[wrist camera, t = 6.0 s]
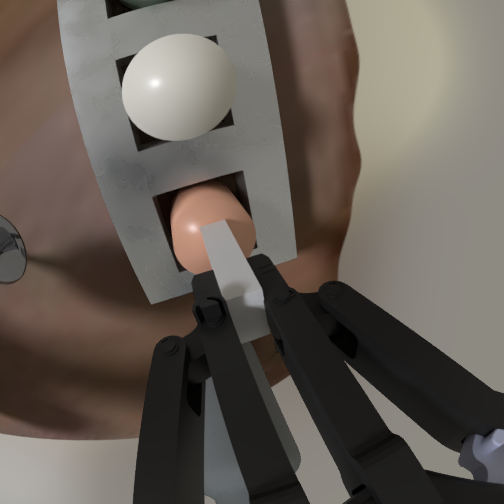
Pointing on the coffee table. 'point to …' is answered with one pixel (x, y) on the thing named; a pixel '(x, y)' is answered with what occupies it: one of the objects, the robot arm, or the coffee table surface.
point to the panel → (185, 151)
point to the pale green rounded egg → (141, 3)
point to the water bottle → (219, 445)
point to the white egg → (179, 87)
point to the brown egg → (206, 222)
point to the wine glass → (10, 253)
